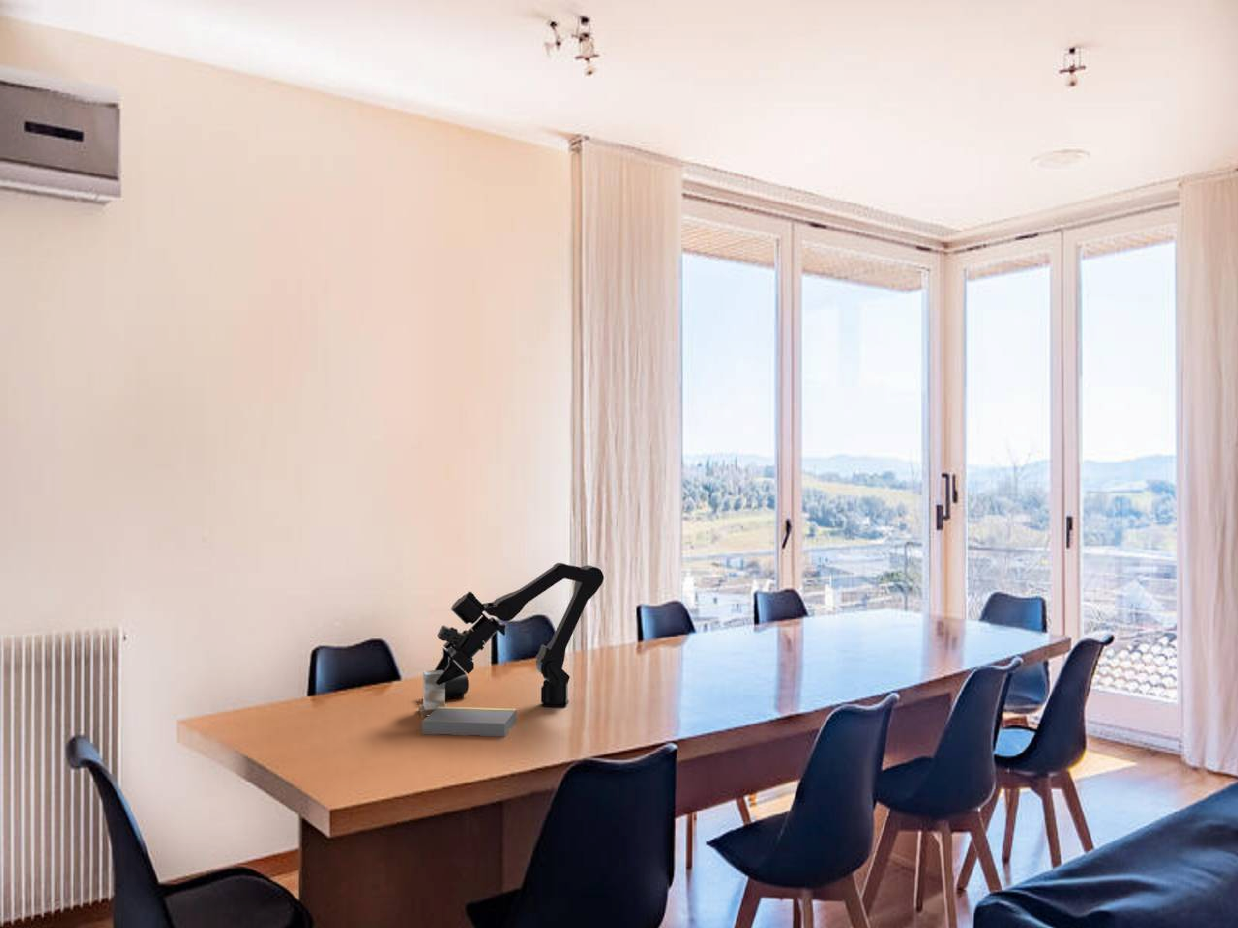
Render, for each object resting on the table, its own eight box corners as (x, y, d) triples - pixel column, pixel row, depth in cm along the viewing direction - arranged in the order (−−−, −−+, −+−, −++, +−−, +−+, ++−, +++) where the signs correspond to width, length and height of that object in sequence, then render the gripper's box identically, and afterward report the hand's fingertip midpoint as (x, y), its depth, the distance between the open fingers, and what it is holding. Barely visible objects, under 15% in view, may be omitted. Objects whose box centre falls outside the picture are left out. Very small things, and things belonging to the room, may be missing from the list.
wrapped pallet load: (445, 708, 246) (446, 668, 246) (449, 715, 240) (449, 674, 240) (418, 710, 244) (419, 670, 244) (421, 716, 238) (421, 675, 238)
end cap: (435, 702, 253) (435, 678, 253) (425, 697, 259) (425, 673, 259) (469, 698, 258) (469, 673, 258) (458, 693, 264) (458, 669, 264)
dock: (516, 721, 234) (516, 708, 234) (504, 736, 220) (504, 723, 220) (438, 718, 236) (438, 706, 236) (422, 733, 222) (422, 720, 222)
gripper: (452, 610, 253) (409, 652, 249) (461, 620, 235) (416, 666, 232) (480, 638, 255) (439, 680, 252) (492, 650, 237) (447, 696, 234)
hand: (435, 680), depth 242 cm, fingers open, 9 cm apart
